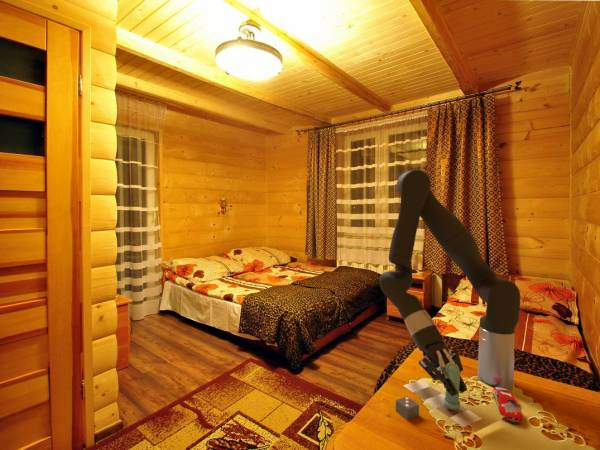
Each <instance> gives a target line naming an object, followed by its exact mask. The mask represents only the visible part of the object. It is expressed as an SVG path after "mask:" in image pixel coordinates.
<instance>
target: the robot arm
mask: <svg viewBox="0 0 600 450" xmlns="http://www.w3.org/2000/svg"><path fill="white" fill-rule="evenodd" d="M431 185H432V183H431V178H430V176H429V175H428V173H427V172H425V171H424V170H421V169H410V170H408V171H405V172H403V173H401V174H400V175H399V177H398V179H397V181H396V190H397V192H398V194H399V195H400V205H399V206H400V207H399V213H398V217H397V221H396V224H395V227H394V229H393V232H392V235H391V236H392V237H391V240H390V241H391V242H390V247H389V252H388V261H389V262H390V263H391V264H393V265H394V269H395V270H391V271H390V270H389V271H385V272H384V271H383V273H381V274H380V276H379V279H378V280H379V282H378V284H379V287H380V289H381V292H382V293H383V294H384V296H386V297H387V299H388V300H389V302H391V304H392V305H394V307H396V308H397V310H398V312H399V315H400V316H401V318H402V319H403V321H404V323H405V325H406V328H407V331H408V332H409V333H410V336H411V338H412V339H413V341H414V343H415V346H416V347H417V348H418V350H419V351H420V352H422V356H423V357H422V359H420V360H419V361H418V364H419V365H420V367H421V368H422V369H423V370H424V371H425V372H426V373H427V374H428V375H429V377H431V378H432V380H433V381H436V382H437V381H439V382H442V385H443V386H444V388H445V391H446V390H447V392H448V393H449V394H450V395H451V396H454V395H456V394H458V391H457V390H456V388H455V386H454V384H453V383H452V381H451V380H450V378H449V376H448V374H447V372H446V368H447V366H448V365H449V364H455V365H457V366H458V367H459V369H460V373H462V372H463V371H464V367H463V364H462V360H461V357H460V355H459V351H458V349H456V348H454V349H449V347H448V346H447V345H446V344H445V343H444V340H445V339H444V337H443V335H442V334H441V331H440V330H439V329H438V327H437V325H436V324H435V322H434V320H433V319H432V317H431V316H430V314H429V313H428V312H427V310H426V309H425V307H424V306H423V304H422V303H421V301H420V300H419V298H418V296H417V295H414V294H411V293H409V292H408V291H409V290H410V289H411V287H412V285H413V265H412V258H413V253H414V248H415V243H416V236H417V232H418V226H419V223H420V218H421V220H422V221H423V223H424V225H425V226H426V228H427V229H428V230H429V232H430V233H431V235H432V236H433V238H434V240H435V241H436V242H437V243H438V245H439V246H440V247H441V248H442V249H443V251H444V252H445V253H446V254H447V256H448V257H449V258H450V259H451V260H452V261H453V262H454V264H456V266H457V267H458V268H459V269H460V270H461V272H462V273H464V276H465V277H466V279H467V280H468V281H469V283H470V285H471V287H472V288H473V289H474V291H475V293H476V294H477V296H478V297H479V298H480V300H482V301H483V302H484V303H486V311H485V312H486V313H485V315H482V316H480V318H479V330H478V331H479V332H478V356H477V357H478V358H477V359H478V361H477V380H478V381H479V382H481V383H483V384H485V385H487V386H488V387H491V388H492V389H494V388H495V387H500V388H505V389H508V390H510V391H511V390H513V385H514V372H515V337H516V336H515V333H516V332H515V331H516V330H515V329H516V327H517V325H518V323H519V320H520V311H521V310H520V308H521V293H520V289H519V287H518V286H517V284H516V283H514V282H512V281H511V280H509V279H506V278H503V277H501V276H499V275H498V274H497V273H495V271H494V270H492V268H491V267H490V266H489V265H488V264H487V262H486V261H485V260H484V258H483V257H482V254H481V251H480V249H479V245H478V243H477V242H476V239H475V238H474V236H473V234H472V233H471V232H470V231H469V230H468V228H467V227H466V225H465V224H464V223H463V222H462V221H461V220H460V219H459V218H458V217H457V216H456V215H455V214H453V213H452V212H451V211H450V210H449V209H448V208H447V207H445V206H444V205H443V204H442V203H441V202H440V200H439V199H438V198H437V197H436V196H435V194H434V193H433V192H432V190H431ZM448 378H449V379H448ZM466 391H468V387H467V385H466V382H465V380H464V379H463V378H462V376H461V375H460V386H459V393H461V394H462V393H464V392H465V393H466Z"/></svg>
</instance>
